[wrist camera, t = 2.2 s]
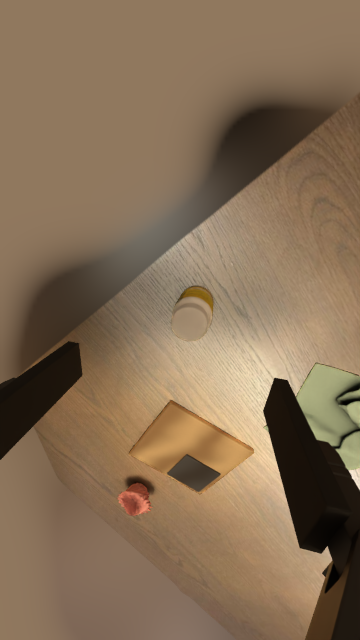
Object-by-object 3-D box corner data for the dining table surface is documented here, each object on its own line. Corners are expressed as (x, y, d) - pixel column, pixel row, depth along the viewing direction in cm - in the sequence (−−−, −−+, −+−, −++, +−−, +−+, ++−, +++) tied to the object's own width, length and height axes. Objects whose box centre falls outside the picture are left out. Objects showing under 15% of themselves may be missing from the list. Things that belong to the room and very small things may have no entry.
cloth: (315, 479, 38) (321, 494, 36) (240, 403, 34) (241, 415, 32) (446, 436, 30) (464, 452, 28) (367, 334, 27) (380, 342, 25)
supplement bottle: (183, 281, 28) (171, 298, 21) (217, 289, 28) (217, 308, 20) (177, 313, 30) (164, 339, 23) (208, 320, 30) (206, 349, 22)
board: (129, 450, 44) (127, 455, 43) (170, 399, 37) (169, 404, 36) (200, 490, 45) (200, 496, 44) (253, 448, 38) (254, 454, 37)
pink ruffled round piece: (122, 488, 50) (111, 517, 45) (126, 469, 47) (115, 497, 41) (153, 499, 49) (145, 529, 44) (159, 480, 46) (152, 510, 41)
